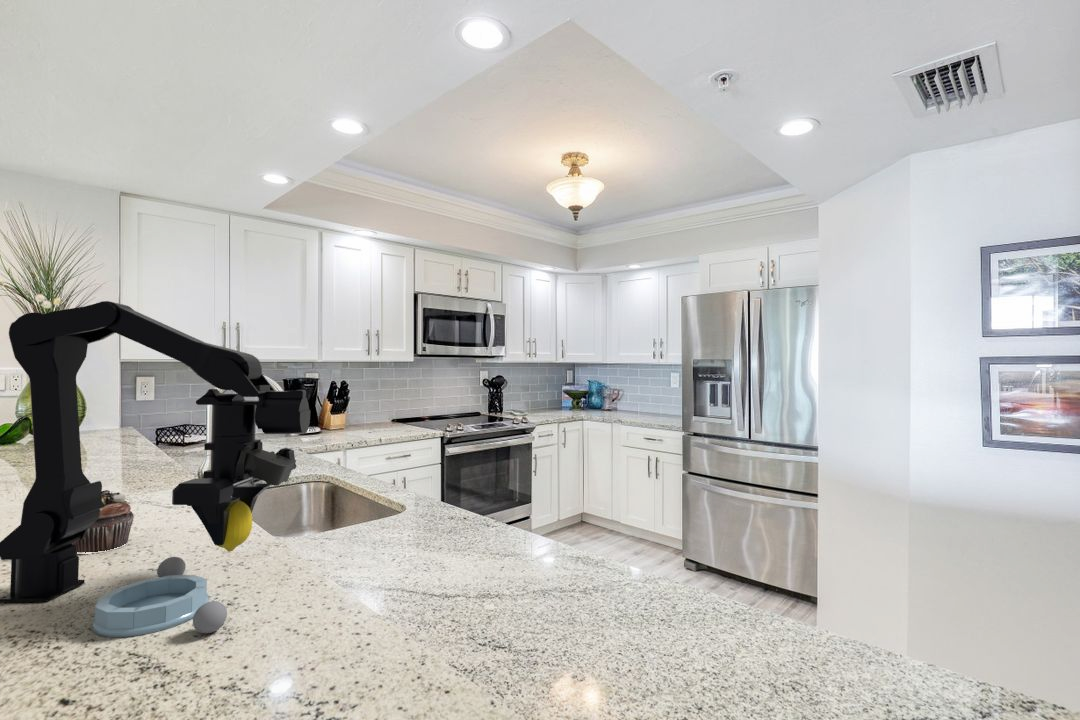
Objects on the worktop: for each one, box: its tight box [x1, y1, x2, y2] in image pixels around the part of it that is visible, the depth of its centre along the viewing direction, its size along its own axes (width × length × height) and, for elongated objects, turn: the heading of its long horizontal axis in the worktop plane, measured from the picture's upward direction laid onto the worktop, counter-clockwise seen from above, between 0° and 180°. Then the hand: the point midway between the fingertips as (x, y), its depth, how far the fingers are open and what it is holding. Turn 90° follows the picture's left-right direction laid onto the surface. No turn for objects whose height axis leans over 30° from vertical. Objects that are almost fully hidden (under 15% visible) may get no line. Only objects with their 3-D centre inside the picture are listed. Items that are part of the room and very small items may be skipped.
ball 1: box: [156, 556, 187, 578], centre depth 77 cm, size 4×4×4 cm
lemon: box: [216, 500, 253, 552], centre depth 77 cm, size 6×6×8 cm
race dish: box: [92, 574, 210, 638], centre depth 67 cm, size 12×12×3 cm
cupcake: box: [71, 489, 135, 553], centre depth 92 cm, size 10×10×10 cm
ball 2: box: [192, 600, 228, 634], centre depth 62 cm, size 4×4×4 cm
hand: (230, 538), depth 77 cm, fingers closed on lemon, 5 cm apart
